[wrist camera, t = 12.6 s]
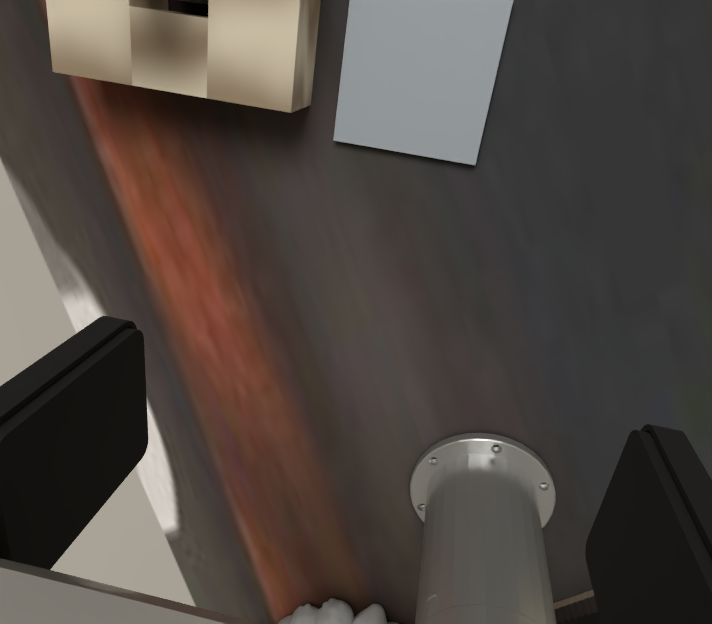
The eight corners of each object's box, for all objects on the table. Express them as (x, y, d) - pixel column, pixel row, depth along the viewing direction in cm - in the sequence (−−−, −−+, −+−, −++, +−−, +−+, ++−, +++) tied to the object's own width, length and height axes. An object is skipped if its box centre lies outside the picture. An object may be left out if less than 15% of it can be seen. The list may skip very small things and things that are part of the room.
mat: (475, 163, 39) (475, 165, 39) (335, 139, 40) (333, 140, 40) (512, 0, 35) (513, 0, 34) (354, -23, 36) (352, -24, 35)
